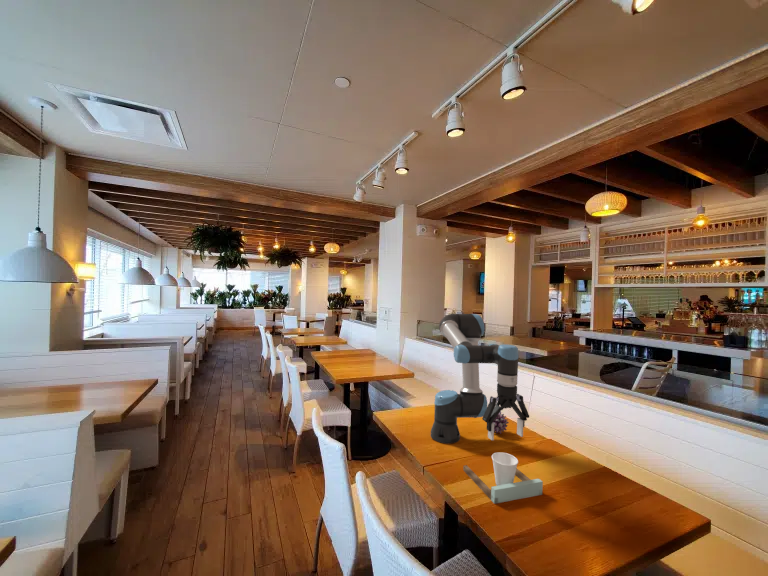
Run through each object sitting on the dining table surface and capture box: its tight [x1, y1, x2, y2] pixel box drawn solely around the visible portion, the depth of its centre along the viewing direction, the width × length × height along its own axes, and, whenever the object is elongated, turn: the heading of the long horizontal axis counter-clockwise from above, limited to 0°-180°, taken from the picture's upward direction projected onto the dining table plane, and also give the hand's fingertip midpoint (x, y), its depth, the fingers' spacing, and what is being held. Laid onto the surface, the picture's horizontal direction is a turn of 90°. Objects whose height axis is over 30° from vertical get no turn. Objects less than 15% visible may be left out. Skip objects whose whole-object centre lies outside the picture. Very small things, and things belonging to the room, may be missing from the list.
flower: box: [492, 410, 509, 434], centre depth 176 cm, size 12×12×12 cm
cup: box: [491, 452, 519, 486], centre depth 128 cm, size 10×10×11 cm
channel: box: [462, 464, 543, 504], centre depth 131 cm, size 22×21×2 cm
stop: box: [490, 478, 544, 504], centre depth 122 cm, size 2×21×5 cm, turn 106°
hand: (505, 437), depth 130 cm, fingers open, 13 cm apart
